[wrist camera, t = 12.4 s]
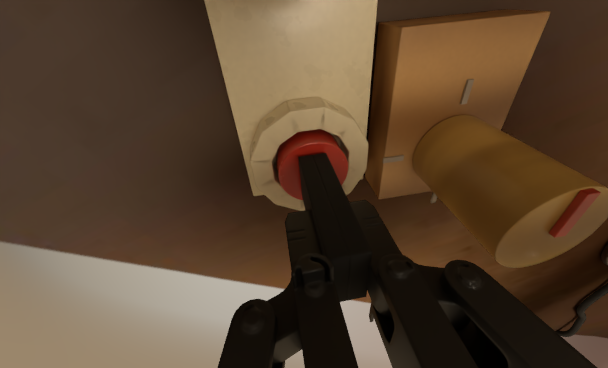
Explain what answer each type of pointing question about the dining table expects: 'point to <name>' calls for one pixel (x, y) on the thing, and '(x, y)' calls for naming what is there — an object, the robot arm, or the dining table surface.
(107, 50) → the dining table surface
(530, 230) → the dimmer knob
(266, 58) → the lamp base
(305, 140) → the lamp switch
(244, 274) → the dining table surface
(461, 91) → the dimmer console
